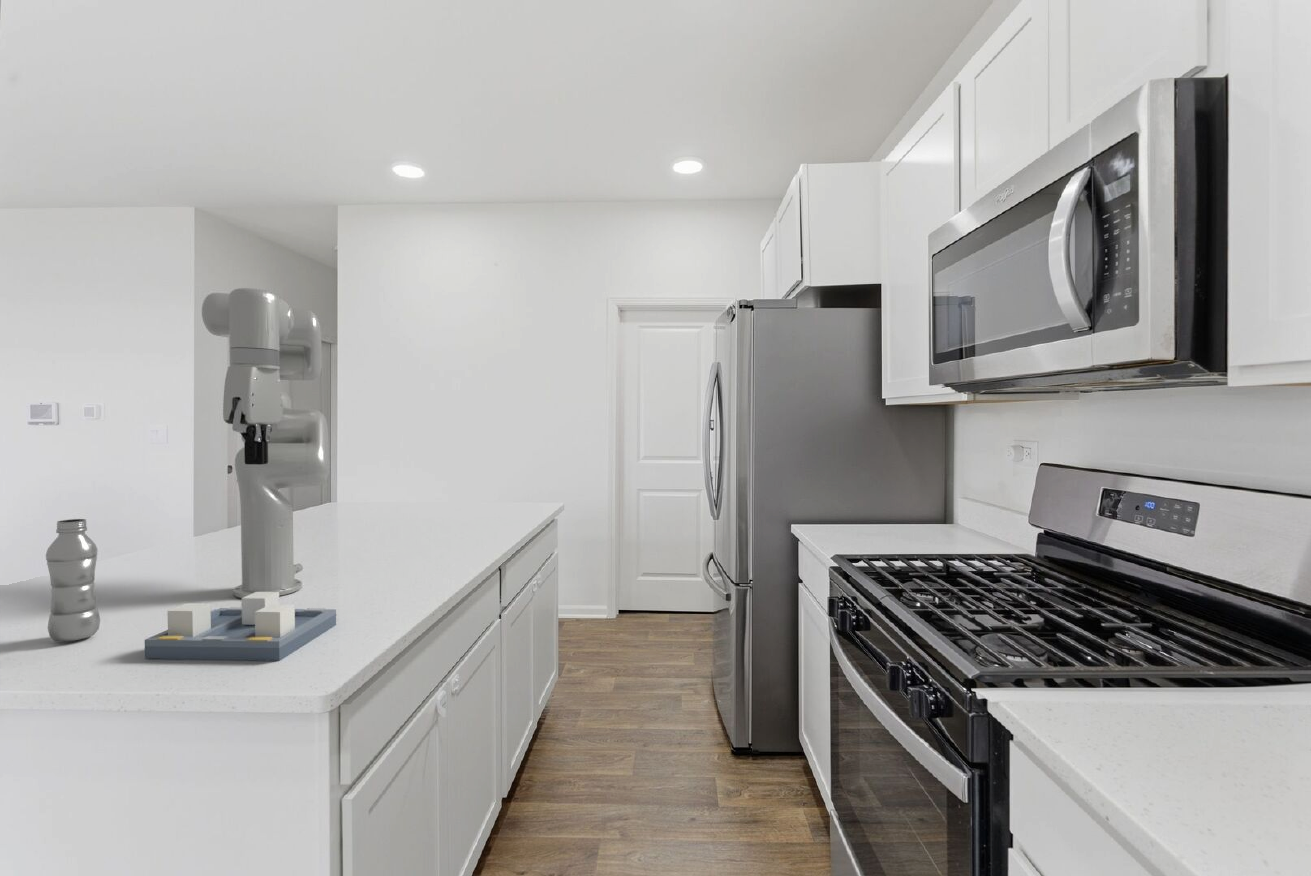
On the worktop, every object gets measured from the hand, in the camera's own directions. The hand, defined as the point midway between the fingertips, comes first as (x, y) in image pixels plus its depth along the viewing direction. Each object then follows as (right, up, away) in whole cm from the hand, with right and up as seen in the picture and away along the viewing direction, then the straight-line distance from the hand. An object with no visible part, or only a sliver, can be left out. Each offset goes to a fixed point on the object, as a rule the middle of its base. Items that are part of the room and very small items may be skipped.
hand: (256, 463), depth 114 cm
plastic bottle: (-26, -29, -7) cm, 40 cm away
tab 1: (-4, -27, -10) cm, 29 cm away
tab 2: (+3, -27, -3) cm, 27 cm away
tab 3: (+10, -27, -11) cm, 31 cm away
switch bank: (+3, -29, -7) cm, 30 cm away
